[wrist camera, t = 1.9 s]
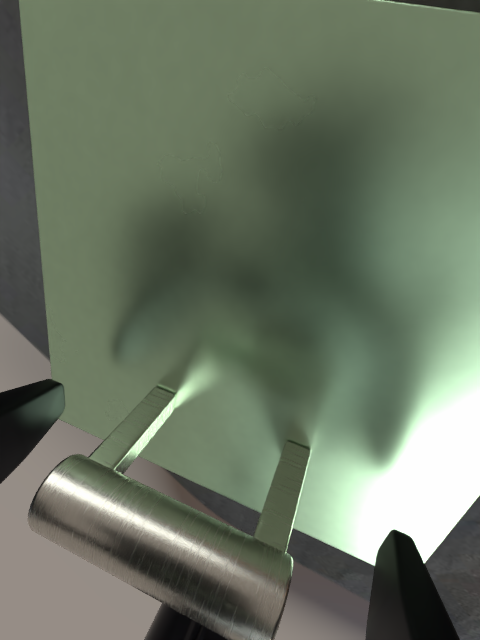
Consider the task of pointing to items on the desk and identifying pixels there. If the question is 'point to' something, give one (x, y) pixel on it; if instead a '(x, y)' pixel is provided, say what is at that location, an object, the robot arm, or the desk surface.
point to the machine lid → (257, 282)
